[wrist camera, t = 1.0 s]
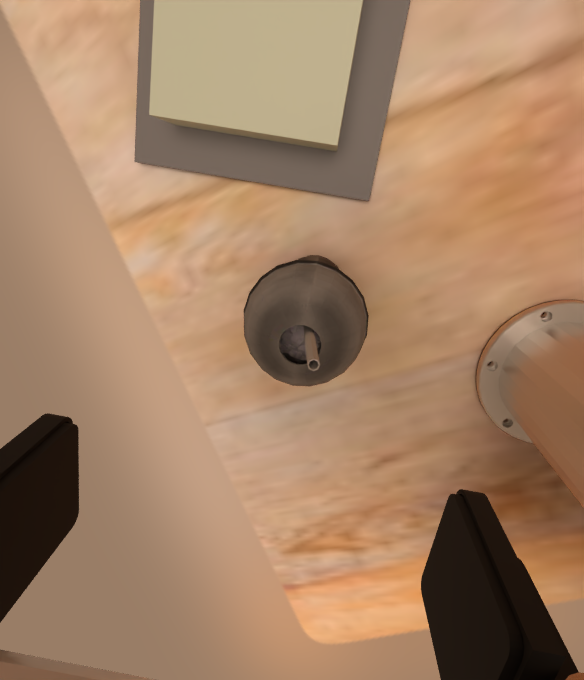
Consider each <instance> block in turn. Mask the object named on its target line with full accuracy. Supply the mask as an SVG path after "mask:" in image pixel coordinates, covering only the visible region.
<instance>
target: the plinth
mask: <svg viewBox="0 0 584 680" xmlns="http://www.w3.org/2000/svg"><path fill="white" fill-rule="evenodd" d="M409 4H410V0H140V24H139V52H138V80H137V108H136V136H135V162H138V163H144V164H150V165H156V166H162V167H168V168H174V169H180V170H186V171H192V172H198V173H204V174H210V175H216V176H222V177H228V178H234V179H240V180H246V181H252V182H258V183H264V184H270V185H276V186H282V187H288V188H294V189H300V190H306V191H312V192H318V193H324V194H330V195H336V196H342V197H348V198H353V199H359V200H365V201H369V199H370V194H371V189H372V184H373V179H374V174H375V170H376V165H377V160H378V155H379V150H380V145H381V140H382V135H383V131H384V126H385V121H386V116H387V111H388V106H389V101H390V97H391V92H392V87H393V82H394V77H395V72H396V67H397V63H398V58H399V53H400V48H401V43H402V38H403V33H404V28H405V24H406V19H407V14H408V9H409Z"/></svg>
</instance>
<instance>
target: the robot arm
mask: <svg viewBox="0 0 584 680" xmlns="http://www.w3.org/2000/svg"><path fill="white" fill-rule="evenodd" d="M543 312H544V315H543V316H541V314H542V313H543ZM491 361H492V362H491ZM489 362H491V364H489V365H487V364H488V363H489ZM476 384H477V392H478V396H479V399H480V402H481V404H482V406H483V408H484V409H485V411H486V413H487V414H488V416H489V417H490V418H491V420H492V421H493V422H494V423H495V424H496V425H497V426H498V427H499V428H500V429H501V430H502V431H504V432H506V433H507V434H509V435H511V436H512V437H514V438H516V439H519V440H522V441H525V442H528V443H533V444H534V445H535V446H536V447H537V448H538V450H539V451H540V452H541V454H542V455H543V456H544V458H545V459H546V460H547V461H548V463H549V464H550V465H551V467H552V468H553V469H554V470H555V472H556V473H557V474H558V476H559V477H560V478H561V479H562V481H563V482H564V483H565V485H566V486H567V487H568V488H569V490H570V491H571V492H572V494H573V495H574V496H575V498H576V499H577V500H578V501H579V503H580V504H581V505H582V507H583V508H584V301H578V300H558V301H552V302H547V303H542V304H540V305H537V306H534V307H531V308H529V309H526V310H525V311H523V312H521V313H519V314H518V315H516V316H514V317H513V318H511V319H510V320H509V321H508V322H506V323H505V324H504V325H503V326H501V327H500V328H499V330H498V331H497V332H496V333H495V334H494V335H493V336H492V337H491V339H490V340H489V342H488V344H487V345H486V347H485V348H484V350H483V352H482V355H481V358H480V360H479V363H478V368H477V374H476ZM78 466H79V464H78V427H77V425H75V424H73V422H72V419H71V418H69V417H64V416H59V415H54V414H44V415H42V416H41V417H40V418H39V419H37V420H36V421H35V422H34V423H32V424H31V425H30V426H29V427H27V428H26V429H25V430H24V431H22V432H21V433H20V434H19V435H17V436H16V437H15V438H14V439H12V440H11V441H10V442H9V443H7V444H6V445H5V446H3V447H2V448H1V449H0V622H1V621H2V620H3V618H4V617H5V616H6V614H7V613H8V612H9V610H10V609H11V608H12V607H13V605H14V604H15V603H16V601H17V600H18V599H19V597H20V596H21V595H22V593H23V592H24V591H25V589H26V588H27V587H28V585H29V584H30V583H31V581H32V580H33V579H34V577H35V576H36V575H37V573H38V572H39V571H40V569H41V568H42V567H43V566H44V564H45V563H46V562H47V560H48V559H49V558H50V556H51V555H52V554H53V552H54V551H55V550H56V548H57V547H58V546H59V544H60V543H61V542H62V540H63V539H64V538H65V537H66V535H67V534H68V533H69V531H70V530H71V529H72V527H73V526H74V524H75V522H76V520H77V517H78V513H79V479H78V478H79V472H78V471H79V470H78V469H79V467H78ZM421 591H422V597H423V601H424V606H425V610H426V615H427V619H428V624H429V628H430V633H431V637H432V642H433V646H434V651H435V655H436V660H437V664H438V669H439V673H440V678H441V680H584V673H579V672H578V670H577V668H576V666H575V664H574V662H573V660H572V658H571V656H570V654H569V653H568V650H567V648H566V646H565V645H564V642H563V640H562V638H561V636H560V634H559V632H558V630H557V629H556V627H555V625H554V623H553V621H552V619H551V617H550V615H549V613H548V611H547V609H546V607H545V605H544V603H543V601H542V599H541V597H540V595H539V593H538V591H537V589H536V587H535V585H534V583H533V581H532V579H531V577H530V575H529V573H528V571H527V569H526V567H525V566H524V564H523V563H522V561H521V560H520V559H519V558H517V556H516V554H515V552H514V550H513V548H512V546H511V544H510V542H509V540H508V538H507V536H506V534H505V532H504V530H503V528H502V526H501V524H500V522H499V520H498V518H497V516H496V514H495V512H494V510H493V508H492V506H491V504H490V502H489V500H488V498H487V496H486V495H485V494H483V493H479V492H473V491H468V490H462V489H460V490H459V491H458V492H457V494H450V496H449V498H448V500H447V503H446V506H445V509H444V512H443V515H442V518H441V521H440V524H439V527H438V530H437V533H436V536H435V539H434V542H433V545H432V548H431V551H430V554H429V557H428V560H427V563H426V566H425V569H424V572H423V575H422V580H421ZM0 680H155V679H149V678H144V677H139V676H134V675H129V674H124V673H119V672H113V671H109V670H103V669H98V668H93V667H88V666H82V665H77V664H72V663H66V662H62V661H56V660H51V659H46V658H40V657H35V656H30V655H25V654H20V653H15V652H9V651H4V650H0Z"/></svg>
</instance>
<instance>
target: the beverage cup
mask: <svg viewBox="0 0 584 680" xmlns="http://www.w3.org/2000/svg"><path fill="white" fill-rule="evenodd" d="M367 327H368V312H367V308H366V305H365V301H364V297H363V295H362V294H361V292H360V291H359V289H358V288H357V286H356V285H355V283H354V282H353V280H352V279H350V278H349V277H348V276H346V275H345V274H344V273H343V272H341V271H340V270H339V269H338V267H337V266H336V265H335V264H334V263H332V262H331V261H330V260H329V259H327V258H324V257H322V256H315V255H310V256H306V257H303V258H300V259H298V260H295V261H292V262H288V263H285V264H281V265H278V266H276V267H275V268H273V269H272V270H270V271H269V272H268V273H266V274H265V275H263V276H262V277H261V278H260V279H259V280H258V282H257V283H256V285H255V286H254V287H253V289H252V290H251V291H250V293H249V296H248V299H247V302H246V305H245V308H244V336H245V339H246V342H247V345H248V348H249V351H250V354H251V355H252V356H253V358H254V359H255V360H256V362H257V363H258V364H259V366H260V367H261V368H262V370H264V371H265V372H267V373H268V374H269V375H271V376H272V377H273V378H275V379H276V380H279V381H282V382H284V383H287V384H290V385H295V386H313V385H318V384H322V383H326V382H328V381H330V380H332V379H333V378H335V377H337V376H338V375H340V374H342V373H344V372H345V370H346V369H347V368H348V367H349V366H350V365H351V364H352V363H353V362H354V360H355V359H356V358H357V356H358V353H359V352H360V350H361V347H362V345H363V343H364V340H365V338H366V336H367Z"/></svg>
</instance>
